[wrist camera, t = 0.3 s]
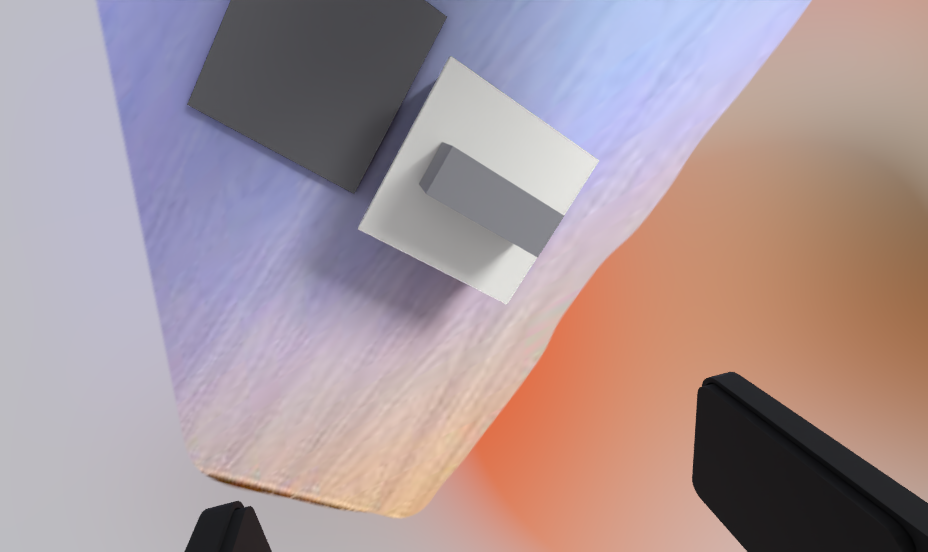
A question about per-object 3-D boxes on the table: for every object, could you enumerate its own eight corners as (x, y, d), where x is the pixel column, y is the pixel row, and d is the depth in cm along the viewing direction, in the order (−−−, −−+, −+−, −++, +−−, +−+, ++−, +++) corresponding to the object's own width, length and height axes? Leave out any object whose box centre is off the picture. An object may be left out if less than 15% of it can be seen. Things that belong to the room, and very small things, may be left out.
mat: (277, -107, 27) (276, -110, 26) (446, 18, 31) (447, 16, 30) (189, 104, 29) (187, 104, 29) (354, 193, 33) (354, 194, 33)
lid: (448, 58, 27) (464, 46, 22) (592, 159, 31) (631, 166, 26) (358, 225, 29) (356, 246, 25) (503, 299, 33) (524, 328, 29)
